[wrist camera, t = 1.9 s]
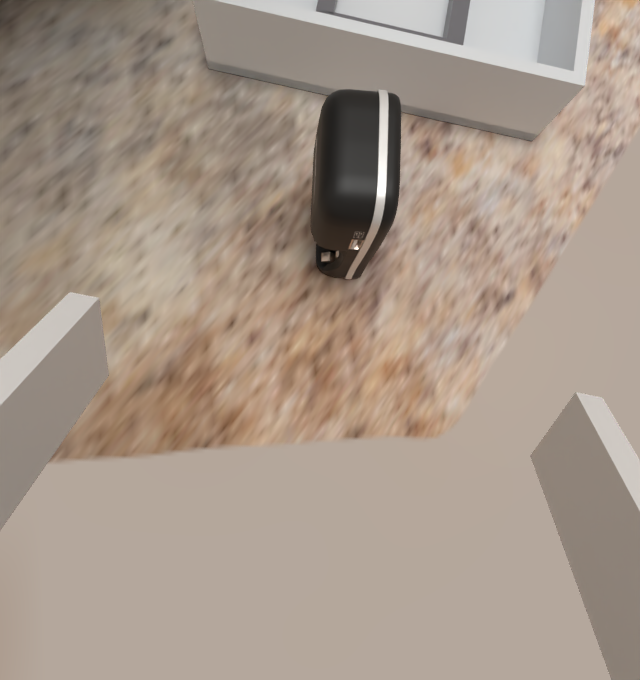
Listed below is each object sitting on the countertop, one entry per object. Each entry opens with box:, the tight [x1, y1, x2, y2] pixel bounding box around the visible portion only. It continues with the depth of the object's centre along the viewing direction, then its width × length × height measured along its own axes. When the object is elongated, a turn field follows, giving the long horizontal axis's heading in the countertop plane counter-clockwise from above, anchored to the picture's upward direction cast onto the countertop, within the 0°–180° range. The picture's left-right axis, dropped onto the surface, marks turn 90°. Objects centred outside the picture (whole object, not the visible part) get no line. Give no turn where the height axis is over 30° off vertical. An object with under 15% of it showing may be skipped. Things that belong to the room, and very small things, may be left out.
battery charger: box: [311, 89, 401, 279], centre depth 26 cm, size 7×4×11 cm, turn 178°
